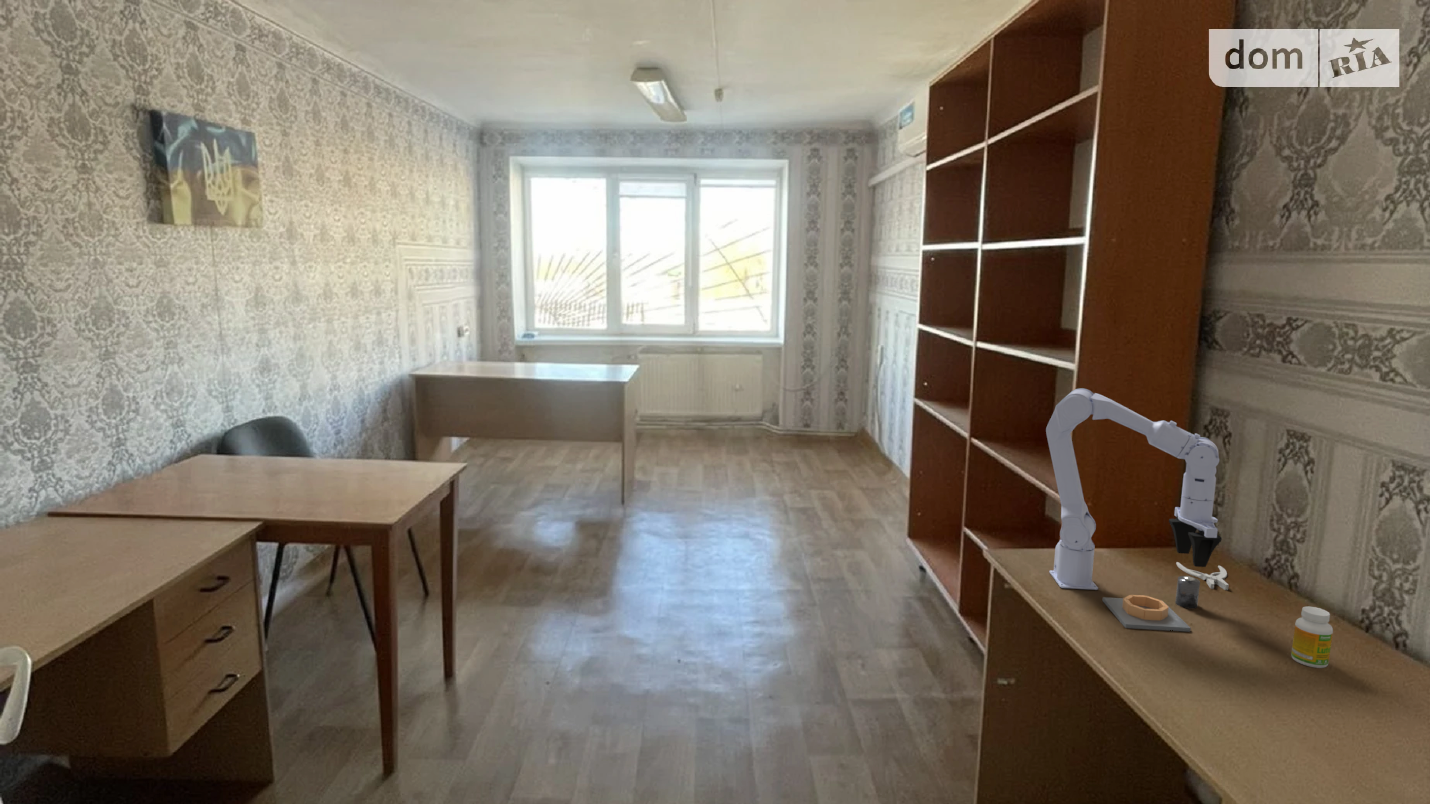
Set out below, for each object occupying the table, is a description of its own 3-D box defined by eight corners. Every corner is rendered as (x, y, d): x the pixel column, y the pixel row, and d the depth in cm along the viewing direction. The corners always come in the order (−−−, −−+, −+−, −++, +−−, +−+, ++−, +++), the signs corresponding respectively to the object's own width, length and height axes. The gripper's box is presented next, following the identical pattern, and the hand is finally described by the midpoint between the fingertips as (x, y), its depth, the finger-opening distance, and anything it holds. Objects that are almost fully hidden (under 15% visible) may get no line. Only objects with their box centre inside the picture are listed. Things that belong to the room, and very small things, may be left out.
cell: (1172, 600, 166) (1174, 573, 165) (1191, 601, 165) (1194, 574, 164) (1180, 608, 162) (1183, 581, 161) (1200, 609, 161) (1203, 582, 160)
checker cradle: (1102, 600, 166) (1103, 588, 165) (1162, 604, 164) (1163, 591, 163) (1125, 627, 153) (1126, 614, 152) (1190, 631, 151) (1191, 618, 151)
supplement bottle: (1318, 671, 136) (1325, 619, 135) (1284, 658, 141) (1291, 608, 139) (1334, 664, 139) (1341, 613, 137) (1300, 651, 143) (1307, 602, 142)
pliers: (1221, 562, 184) (1245, 586, 170) (1221, 568, 184) (1244, 593, 170) (1175, 558, 187) (1194, 581, 173) (1174, 564, 187) (1194, 588, 173)
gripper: (1236, 508, 152) (1229, 573, 154) (1201, 488, 166) (1195, 548, 169) (1198, 506, 153) (1191, 571, 155) (1166, 487, 167) (1161, 546, 170)
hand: (1191, 559), depth 162 cm, fingers open, 7 cm apart
